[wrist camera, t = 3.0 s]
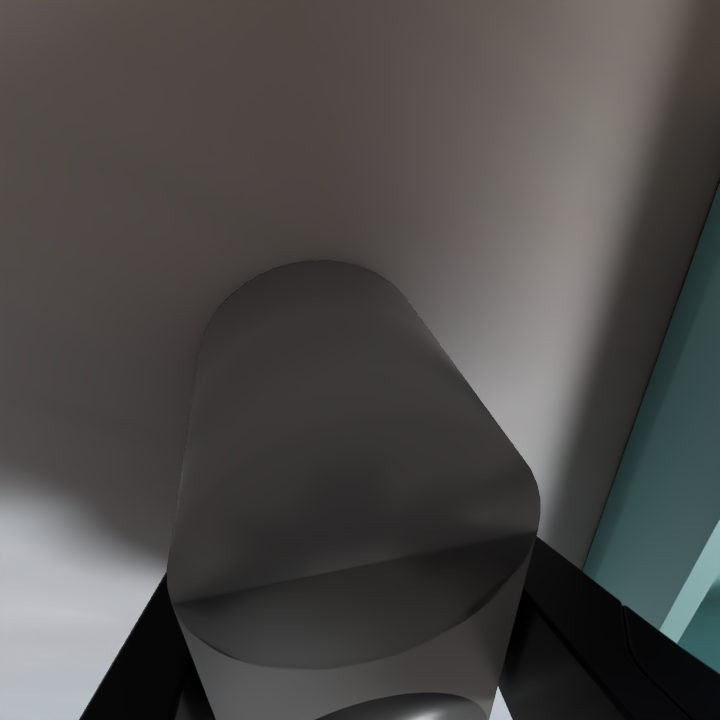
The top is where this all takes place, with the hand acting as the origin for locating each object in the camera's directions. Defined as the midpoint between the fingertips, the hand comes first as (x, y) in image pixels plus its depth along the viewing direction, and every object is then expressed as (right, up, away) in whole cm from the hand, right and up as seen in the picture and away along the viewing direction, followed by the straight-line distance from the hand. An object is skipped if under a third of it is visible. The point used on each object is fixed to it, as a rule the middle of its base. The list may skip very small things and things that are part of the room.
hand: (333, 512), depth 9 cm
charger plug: (0, 0, +1) cm, 1 cm away
